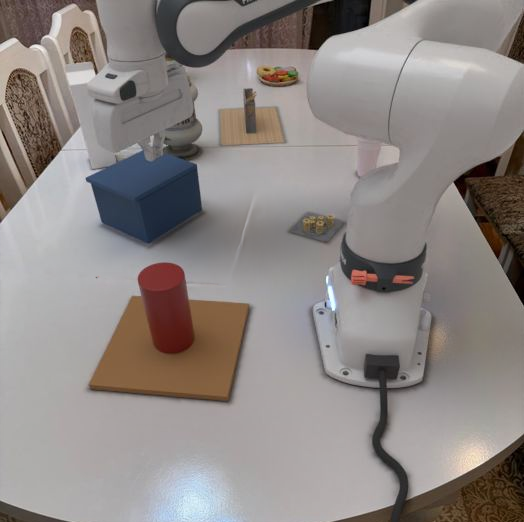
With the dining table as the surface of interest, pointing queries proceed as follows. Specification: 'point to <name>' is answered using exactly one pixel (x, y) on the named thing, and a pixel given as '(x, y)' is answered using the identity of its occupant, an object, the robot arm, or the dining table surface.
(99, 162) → the milk
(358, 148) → the smoothie
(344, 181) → the dining table surface
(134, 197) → the cooler lid
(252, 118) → the ruin model on sheet
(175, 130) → the apothecary jar
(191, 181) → the cooler
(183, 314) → the can
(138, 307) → the mat
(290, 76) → the toy food set
